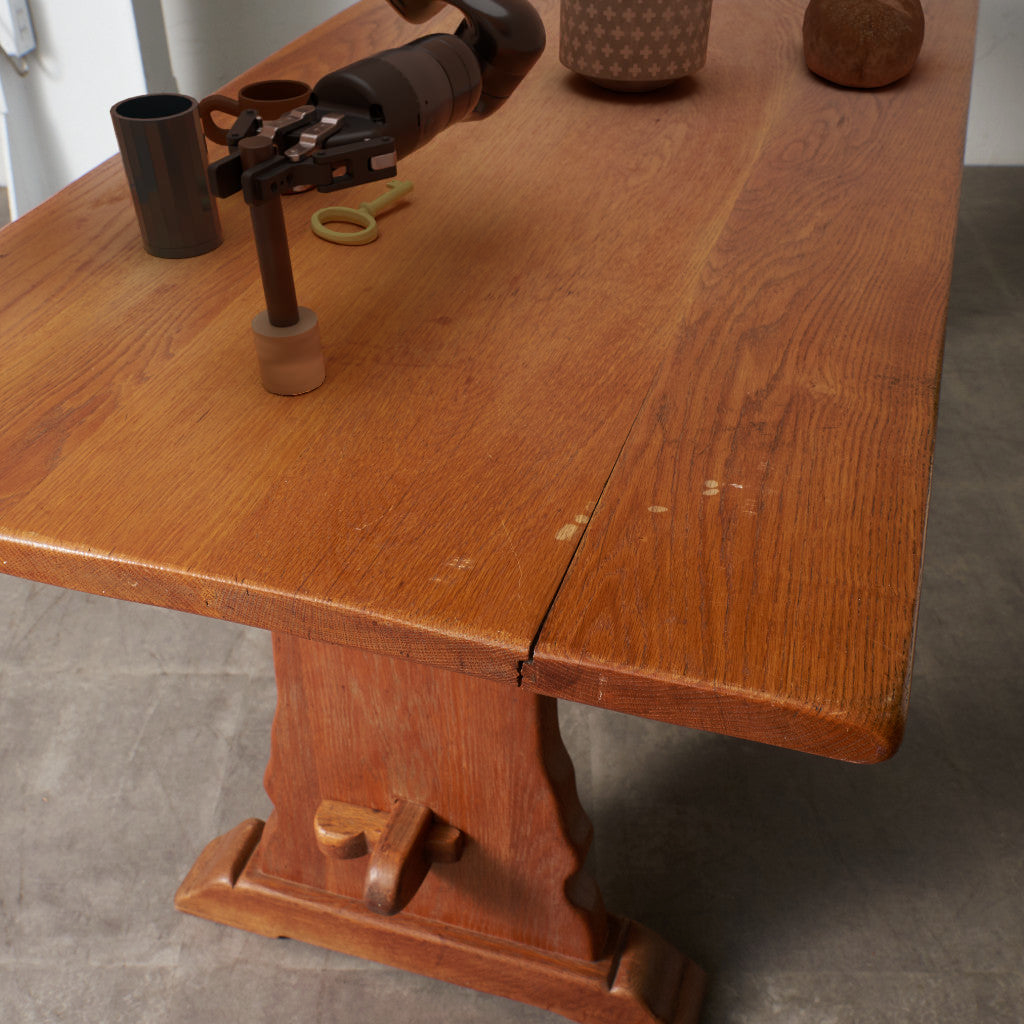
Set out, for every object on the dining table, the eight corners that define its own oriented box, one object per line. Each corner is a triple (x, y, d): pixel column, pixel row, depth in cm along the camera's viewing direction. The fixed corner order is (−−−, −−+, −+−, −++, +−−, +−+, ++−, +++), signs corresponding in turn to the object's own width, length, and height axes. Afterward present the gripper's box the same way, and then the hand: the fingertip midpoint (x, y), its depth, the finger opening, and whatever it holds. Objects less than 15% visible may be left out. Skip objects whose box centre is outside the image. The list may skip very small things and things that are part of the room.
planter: (730, 95, 129) (751, -66, 117) (595, 114, 124) (604, -53, 112) (659, 56, 143) (672, -92, 131) (536, 71, 137) (538, -82, 126)
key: (418, 198, 103) (416, 178, 102) (366, 249, 94) (364, 227, 93) (354, 190, 105) (352, 170, 104) (298, 239, 96) (295, 218, 95)
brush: (253, 393, 75) (205, 152, 64) (274, 360, 79) (233, 127, 67) (315, 398, 75) (278, 156, 63) (333, 364, 78) (302, 130, 67)
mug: (205, 200, 103) (186, 105, 97) (213, 172, 109) (195, 81, 103) (323, 194, 104) (312, 100, 98) (325, 166, 110) (313, 77, 104)
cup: (130, 255, 93) (94, 118, 85) (163, 223, 99) (132, 91, 91) (206, 261, 92) (177, 122, 84) (235, 227, 98) (210, 94, 90)
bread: (796, 89, 131) (812, -7, 124) (798, 30, 153) (812, -55, 146) (921, 97, 128) (946, 0, 121) (906, 36, 150) (925, -50, 143)
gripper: (302, 44, 76) (136, 110, 65) (459, 70, 71) (309, 147, 60) (315, 143, 81) (162, 222, 70) (463, 174, 76) (324, 265, 64)
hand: (231, 187), depth 65 cm, fingers closed on brush
